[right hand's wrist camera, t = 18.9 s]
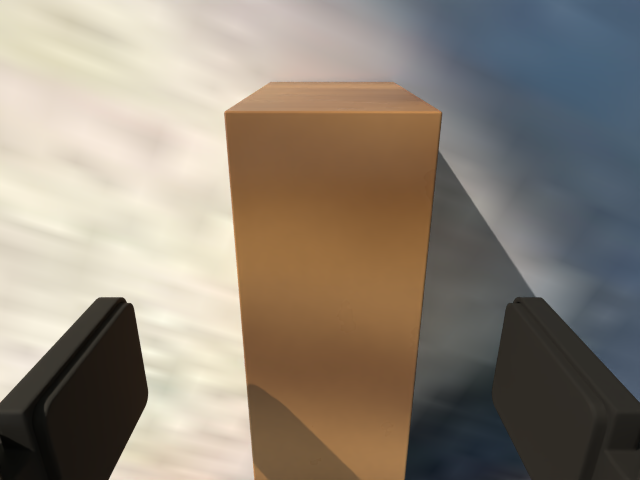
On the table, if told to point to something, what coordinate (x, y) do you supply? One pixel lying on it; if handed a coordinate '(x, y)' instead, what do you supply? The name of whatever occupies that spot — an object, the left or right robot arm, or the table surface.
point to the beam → (331, 271)
